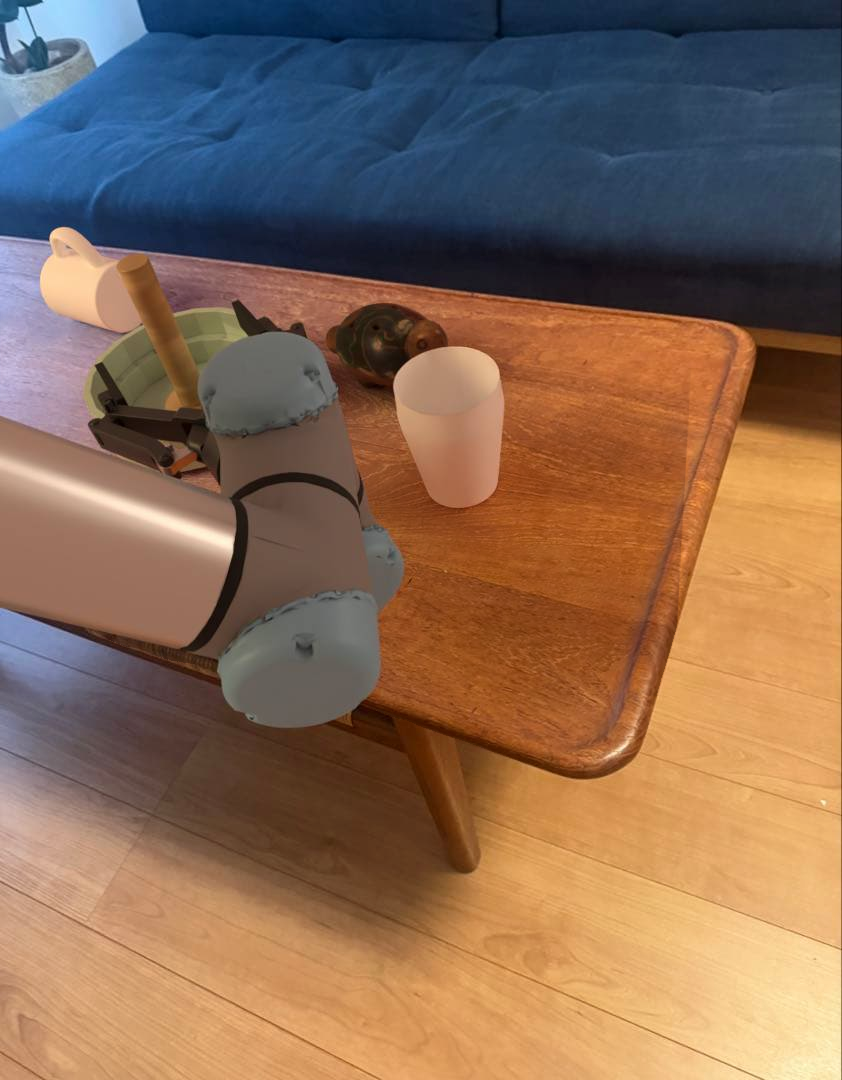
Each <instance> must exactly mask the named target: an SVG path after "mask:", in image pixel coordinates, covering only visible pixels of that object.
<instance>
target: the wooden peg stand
mask: <svg viewBox="0 0 842 1080" xmlns="http://www.w3.org/2000/svg"><path fill="white" fill-rule="evenodd" d="M119 260H120V261H119V262H118V263H117V265H116V268H117V271H118V273H119V275H120V277H121V279H122V281H123V283H124V285H125V287H126V289H127V291H128V294H129V296H130V298H131V300H132V302H133V304H134V306H135V308H136V310H137V312H138V314H139V317H140V319H141V321H142V323H141V324H142V325H144V327H145V329H146V331H147V333H148V335H149V337H150V340H151V342H152V344H153V346H154V348H155V350H156V352H157V354H158V356H159V358H160V360H161V363H162V365H163V367H164V369H165V371H166V373H167V375H168V377H169V379H170V381H171V383H172V386H173V388H174V391H173V392H172V393H171V394H170V395H169V397H168V398H167V400H166V404H165V408H166V410H171V411H178V409H179V408H180V407H185V408H194V409H202V408H201V406H202V404H201V402H200V399H199V396H198V380H199V377H200V374H199V371H198V369H197V367H196V365H195V362H194V360H193V358H192V356H191V353H190V351H189V349H188V347H187V344H186V342H185V340H184V337H183V335H182V333H181V331H180V328H179V326H178V324H177V322H176V319H175V317H174V315H173V313H174V312H173V310H172V308H171V306H170V304H169V301H168V299H167V297H166V294H165V292H164V290H163V287H162V285H161V283H160V281H159V279H158V276H157V274H156V272H155V269H154V267H153V265H152V263H151V260H150V258H149V256H148V255H147V254H145V253H141V252H139V253H133V254H128V255H126V256H124V257H123V258H121V259H119Z"/></svg>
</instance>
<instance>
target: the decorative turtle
mask: <svg viewBox="0 0 842 1080" xmlns="http://www.w3.org/2000/svg"><path fill="white" fill-rule="evenodd" d="M325 345H326V346H327V347H328V349H329V350H330V352H332V353H333V354H335V355H337V356H338V358H339V360H340V362H341V363H342V364H343V366H344V367H345V369H347V370H348V371H349V372H350V374H352V376H353V377H354V379H355V381H356V382H357V383H358V384H359V385H361V386H362V387H363V388H365V389H370V388H373V387H375V386H376V385H379V386H382V387H383V388H385V389H386V390H388V392H389V393H390V394H392V395H393V396H394V397H395V395H394V388H393V384H394V379H395V377H396V375H397V373H398V371H399V370H400V369H401V368H402V366H403V365H404V364H406V363H407V362H408V361H409V360H411V359H412V358H414V357H416V356H418V355H419V354H422V353H424V352H427V351H430V350H433V349H437V348H442V347H449V340H448V336H447V333H446V332H445V331H444V329H443V327H442V326H441V325H440V324H439V323H437V322H436V321H434V320H431V319H428V318H427V317H426V316H425V315H423V314H422V313H420V312H419V311H416V310H415V309H413V308H411V307H408V306H405V305H403V304H398V303H394V302H393V303H392V302H377V303H371V304H367V305H364V306H361V307H359V308H357V309H356V310H354V311H352V312H351V313H349V314H348V315H347V316H346V317H345V318H344V319H343V320H342V322H341V323H340V324H337V325H334V326H332V327H330V328H329V329H328V330H327V332H326V334H325Z"/></svg>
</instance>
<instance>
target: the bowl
mask: <svg viewBox="0 0 842 1080" xmlns="http://www.w3.org/2000/svg"><path fill="white" fill-rule="evenodd" d="M173 315H174V317H175V319H176V322H177V324H178V326H179V328H180V331H181V333H182V335H183V337H184V340H185V342H186V344H187V347H188V349H189V351H190V353H191V356H192V358H193V360H194V362H195V365H196V367H197V369H198V371H199V374H201V372H202V370H203V368H204V366H205V365H206V364H207V362H208V361H209V360H210V359H211V358H212V357H213V356H214V355H215V354H216V353H217V352H219V351H220V350H221V349H223V348H224V347H226V346H228V345H229V344H231V343H233V342H235V341H237V340H239V339H242V338H245V337H249V336H248V335H247V334H246V333H245V332H244V331H243V329H242V328H241V327H240V325H239V322H238V319H237V317H236V314H235V311H234V309H233V308H229V307H222V306H217V307H215V306H214V307H213V306H212V307H196V308H191V309H190V308H189V309H186V310H182V311H177V312H173ZM254 317H255V318H256V319H259V318H258V317H256V316H254ZM100 362H103V364H104V365H105V367H106V369H107V370H108V372H109V374H110V375H111V377H112V378H113V380H114V382H115V383H116V385H117V387H118V388H119V390H120V391H121V393H122V395H123V396H124V398H125V400H126V402H127V404H128V405H129V406H135V407H144V408H153V409H162V410H166V408H165V404H166V400H167V398H168V397H169V395H170V394H171V393H172V392H173V391H174V388H173V386H172V383H171V381H170V379H169V377H168V375H167V373H166V371H165V369H164V367H163V365H162V363H161V360H160V358H159V356H158V354H157V352H156V350H155V348H154V346H153V344H152V342H151V340H150V337H149V335H148V333H147V331H146V329H145V327H144V325H143V324H140V325H139V326H138V327H137V328H136V329H134V330H132V331H129V332H127V333H125V335H123V336H121V337H120V338H118V339H117V340H115V341H114V342H113V343H112V344H111V345H110V346H108V348H106V349H105V350H104V351H103V352H102V353H101V354H100V355H99V356H98V357H97V358H96V360H95V361H94V363H93V365H92V366H91V368H90V369H89V371H88V373H87V374H86V376H85V381H84V386H83V390H82V391H83V392H82V397H83V400H84V403H85V405H86V408H87V410H88V413H89V414H90V416H91V418H92V419H95V418H100V419H102V418H103V417H104V416H105V414H106V412H105V410H104V408H103V406H102V405H101V403H100V401H99V400H98V394H100V393H102V392H104V391H106V390H108V389H107V387H106V385H105V384H104V382H103V380H102V378H101V376H100V375H99V373H98V371H97V369H96V367H95V366H94V365H96V364H98V363H100ZM158 441H160V442H161V443H162V444H163V445H164V444H165V443H167V442H169V443H171V445H172V446H175V447H177V448H184V447H186V446H185V445H184V444H183V443H180V442H172V441H164V440H158ZM113 454H114V455H115V456H116V457H118V458H121V459H124V460H126V461H129V462H132V463H135V464H138V465H141V466H143V467H146V468H149V469H152V470H155V469H153V468H150V467H147V466H145V465H142V464H140V463H137V462H135V461H132V460H130V459H127V458H125V457H122V456H120V455H117V454H115V453H113ZM201 468H207V466H206V465H205V464H203V463H200V462H197V461H194V462H192V463H191V464H189V465H187V466H186V467H184V468H182V469H181V470H180V472H181V473H184V472H188V471H193V470H197V469H201ZM155 471H157V472H160V471H158V470H155Z"/></svg>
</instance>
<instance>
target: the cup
mask: <svg viewBox="0 0 842 1080" xmlns="http://www.w3.org/2000/svg"><path fill="white" fill-rule="evenodd" d="M502 386H503V385H502V381H501V375H500V370H499V367H498V364H497V363H496V361H495V360H494V359H493V358H492V357H491V356H489V354H486V353H485V352H483V351H481V350H478V349H476V348H472V347H467V346H448V347H442V348H437V349H433V350H430V351H427V352H424V353H422V354H419V355H418V356H416V357H414V358H412V359H411V360H409V361H408V362H407V363H406V364H404V365H403V366H402V368H401V369H400V370H399V371H398V373H397V375H396V377H395V379H394V384H393V388H394V395H395V396H394V395H393V396H394V401H395V407H396V408H395V409H396V418H397V421H398V424H399V427H400V430H401V432H402V435H403V437H404V439H405V441H406V444H407V446H408V449H409V451H410V453H411V456H412V458H413V460H414V463H415V466H416V468H417V470H418V472H419V475H420V478H421V479H422V482H423V485H424V487H425V489H426V492H427V494H428V496H429V497H430V498H431V499H432V500H433V501H434V502H435V503H437V504H439V505H441V506H444V507H446V508H452V509H465V508H470V507H474V506H476V505H479V504H481V503H483V502H484V501H486V500H487V499H489V498H490V497H491V496H492V495H493V494H494V492H495V491H496V489H497V486H498V484H499V483H498V482H499V475H500V473H499V472H500V463H501V451H502V449H501V448H502V439H503V437H502V436H503V427H504V416H505V397H504V392H503V387H502Z"/></svg>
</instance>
